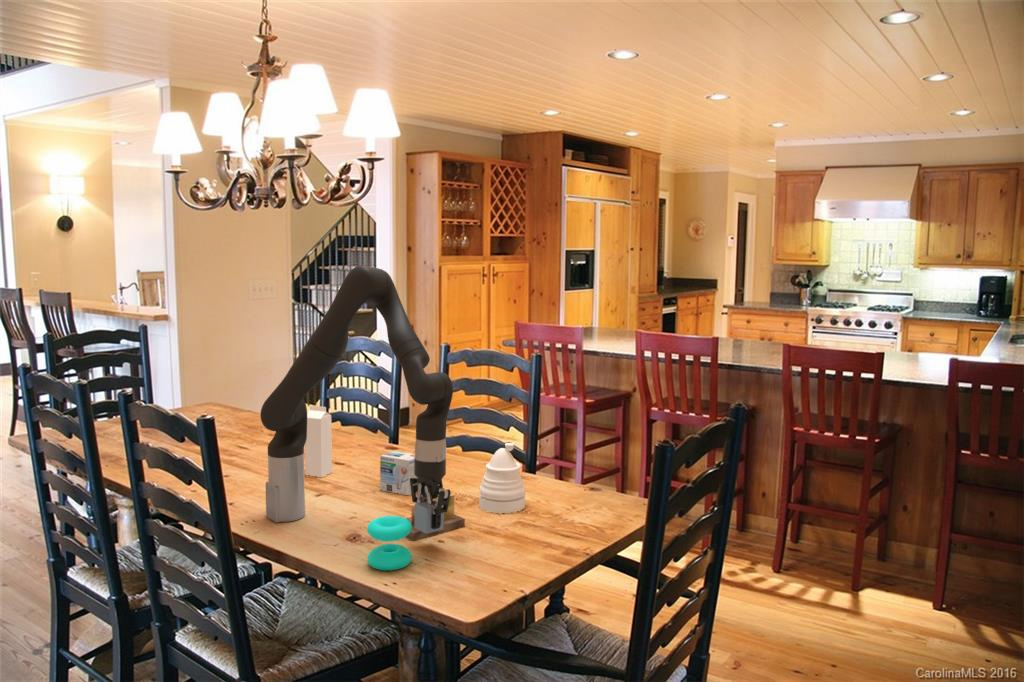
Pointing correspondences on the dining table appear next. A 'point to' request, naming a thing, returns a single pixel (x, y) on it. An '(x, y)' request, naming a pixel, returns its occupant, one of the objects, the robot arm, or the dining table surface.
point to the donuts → (389, 553)
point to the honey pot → (502, 484)
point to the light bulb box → (396, 472)
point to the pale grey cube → (425, 517)
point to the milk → (318, 442)
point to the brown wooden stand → (449, 522)
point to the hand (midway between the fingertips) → (429, 524)
